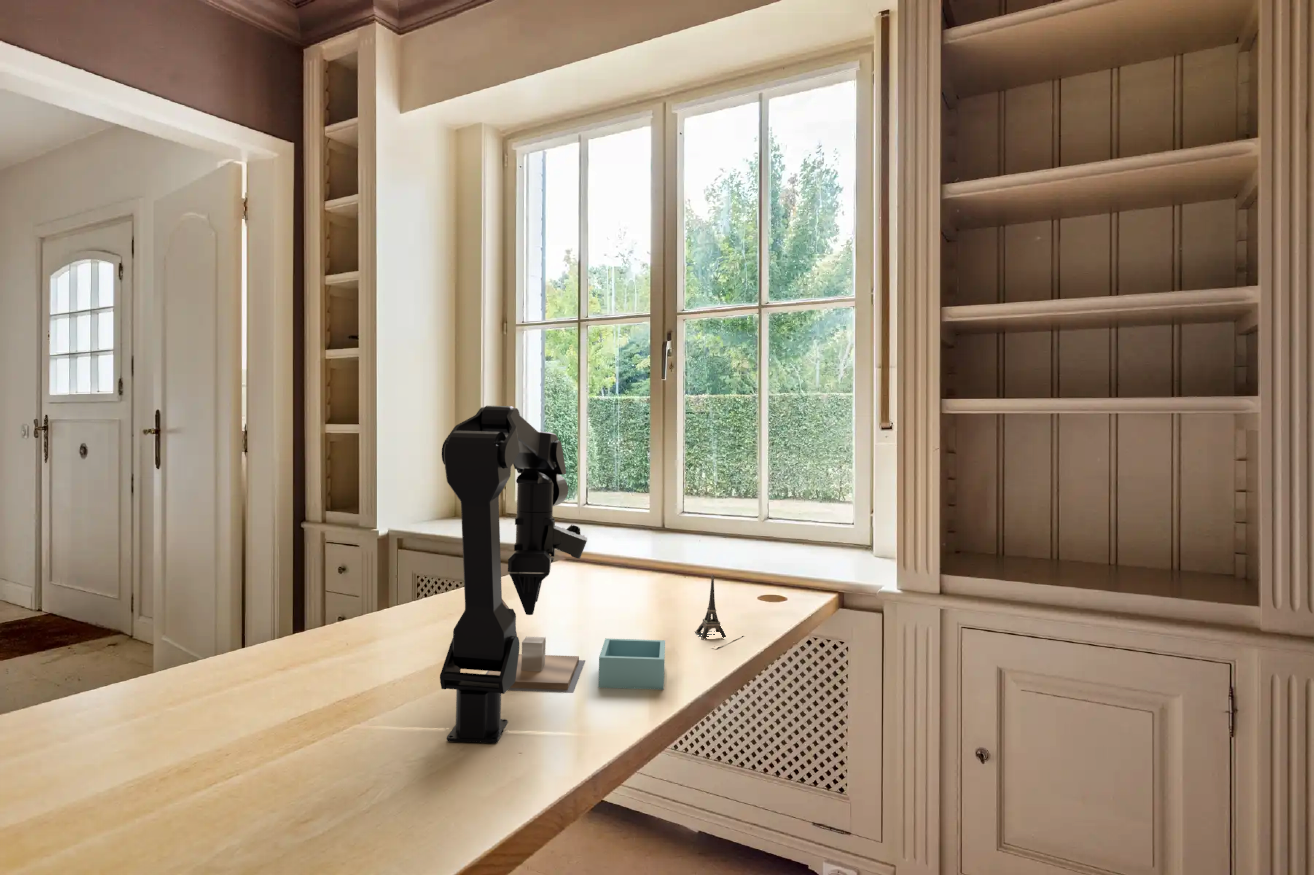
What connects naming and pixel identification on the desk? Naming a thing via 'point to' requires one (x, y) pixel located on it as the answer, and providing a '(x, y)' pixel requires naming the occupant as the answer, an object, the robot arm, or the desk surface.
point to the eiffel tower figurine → (709, 622)
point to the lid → (542, 667)
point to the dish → (632, 664)
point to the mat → (570, 689)
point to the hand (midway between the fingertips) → (531, 608)
